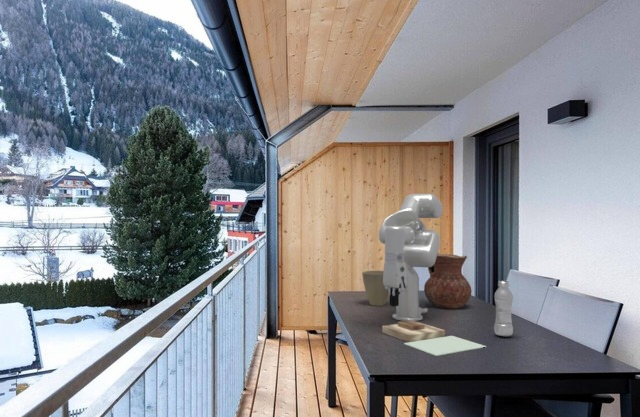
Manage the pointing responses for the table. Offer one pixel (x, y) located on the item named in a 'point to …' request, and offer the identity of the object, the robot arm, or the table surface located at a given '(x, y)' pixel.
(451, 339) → the sage mat
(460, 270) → the jug
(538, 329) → the table surface
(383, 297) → the plant pot
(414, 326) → the walnut tile
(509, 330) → the plastic bottle
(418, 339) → the board
